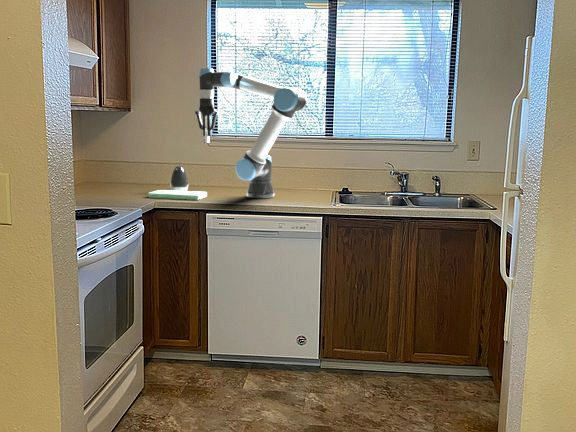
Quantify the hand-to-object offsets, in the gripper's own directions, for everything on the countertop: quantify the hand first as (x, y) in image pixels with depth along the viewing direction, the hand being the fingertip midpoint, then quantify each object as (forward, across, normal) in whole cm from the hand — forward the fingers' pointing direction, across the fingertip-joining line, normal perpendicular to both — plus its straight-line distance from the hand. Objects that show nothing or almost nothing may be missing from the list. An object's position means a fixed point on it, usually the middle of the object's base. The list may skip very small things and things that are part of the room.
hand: (207, 142), depth 320 cm
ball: (+28, +21, +8) cm, 36 cm away
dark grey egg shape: (+30, +20, -9) cm, 37 cm away
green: (+29, +14, +8) cm, 34 cm away
